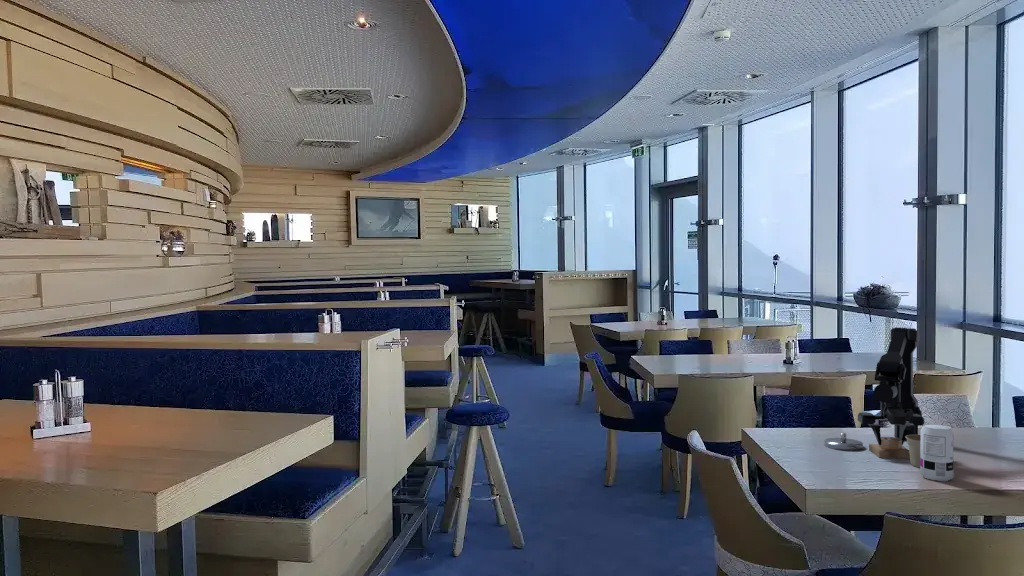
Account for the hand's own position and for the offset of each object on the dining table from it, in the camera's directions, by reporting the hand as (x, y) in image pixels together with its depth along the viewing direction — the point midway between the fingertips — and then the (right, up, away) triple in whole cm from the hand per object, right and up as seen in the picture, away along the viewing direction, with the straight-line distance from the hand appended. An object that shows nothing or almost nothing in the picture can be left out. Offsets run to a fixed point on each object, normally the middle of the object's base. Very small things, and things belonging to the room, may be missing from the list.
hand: (890, 445), depth 232 cm
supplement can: (-1, -4, -26) cm, 26 cm away
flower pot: (+3, -4, -14) cm, 14 cm away
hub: (-10, -3, +11) cm, 15 cm away
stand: (0, -3, 0) cm, 3 cm away
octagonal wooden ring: (0, -1, 0) cm, 1 cm away
